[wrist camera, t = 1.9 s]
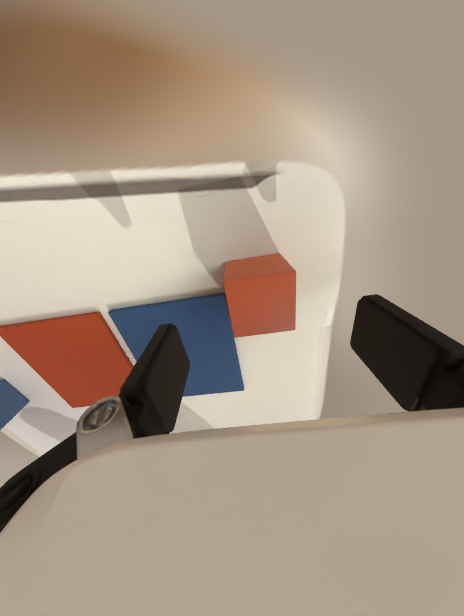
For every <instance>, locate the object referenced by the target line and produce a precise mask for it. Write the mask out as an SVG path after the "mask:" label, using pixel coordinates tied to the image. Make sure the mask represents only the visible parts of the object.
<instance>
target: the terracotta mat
mask: <svg viewBox="0 0 464 616" xmlns="http://www.w3.org/2000/svg"><path fill="white" fill-rule="evenodd" d="M0 336H1V337H2V338H3V339H4V340H5V341H6V342H7V343H8V344H9V345H10V346H11V347H12V348H13V349H14V350H15V351H16V352H17V353H18V354H19V355H20V356H21V357H22V358H23V359H24V360H25V361H26V362H27V363H28V364H29V365H30V366H31V367H32V368H33V369H34V370H35V371H36V372H37V373H38V374H39V375H40V376H41V377H42V378H43V379H44V380H45V381H46V382H47V383H48V384H49V385H50V386H51V387H52V388H53V389H54V390H55V391H56V392H57V393H58V394H59V395H60V396H61V397H62V398H63V399H64V400H65V401H66V402H67V403H68V404H69V405H70V406H71V407H72V408H75V407H85V406H91V405H93V404H94V403H96V402H97V401H99V400H101V399H103V398H105V397H108V396H118V395H119V393H120V388H121V386H122V385H123V383H124V382H125V380H126V378H127V377H128V375H129V374H130V372H131V370H132V369H133V366H132V364H131V362H130V361H129V359H128V357H127V356H126V354H125V353H124V351H123V349H122V348H121V346H120V344H119V343H118V341H117V340H116V338H115V336H114V335H113V333H112V331H111V330H110V328H109V327H108V325H107V323H106V322H105V320H104V318H103V317H102V315H101V313H100V312H93V313H86V314H80V315H73V316H66V317H59V318H52V319H46V320H39V321H32V322H25V323H18V324H12V325H5V326H0Z"/></svg>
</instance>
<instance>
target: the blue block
mask: <svg viewBox="0 0 464 616" xmlns="http://www.w3.org/2000/svg"><path fill="white" fill-rule="evenodd" d="M28 402H29V400H27V399H26V398H25V397H24V396H23V395H22V394H20V393H19V392H18V391H17V390H16V389H15V388H13V387H12V386H11V385H10V384H9V383H8V382H6V381H5V380H0V430H1V429H2V428H3V427H4V426H5V425H6V424H7V423H8V422H9V421H10V420H11V419H12V418H13V417H14V416H15V415H16V414H17V413H18V412H19V411H20V410H21V409H22V408H23V407H24V406H25V405H26V404H27V403H28Z"/></svg>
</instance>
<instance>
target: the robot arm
mask: <svg viewBox="0 0 464 616" xmlns="http://www.w3.org/2000/svg"><path fill="white" fill-rule="evenodd" d="M350 344H351V347H352V349H353V350H354V351H355V353H356V354H357V355H358V356H359V357H360V359H361V360H362V361H363V362H364V363H365V365H366V366H367V367H368V368H369V369H370V370H371V372H372V373H373V374H374V375H375V376H376V378H377V379H378V380H379V381H380V382H381V383H382V384H383V386H384V387H385V388H386V389H387V391H388V392H389V393H390V394H391V395H392V396H393V398H394V399H395V400H396V401H397V402H398V403H399V405H400V406H401V407H402V408H403V409H405V410H407V411H409V412H400V413H389V414H377V415H365V416H352V417H342V418H330V419H318V420H307V421H296V422H285V423H274V424H263V425H252V426H242V427H231V428H221V429H210V430H200V431H190V432H181V433H172V434H169V433H170V432H172V431H173V429H174V426H175V423H176V419H177V415H178V411H179V408H180V404H181V400H182V396H183V393H184V389H185V385H186V381H187V377H188V374H189V370H190V361H189V358H188V356H187V353H186V350H185V348H184V345H183V342H182V340H181V337H180V334H179V332H178V329H177V327H176V325H173V324H172V323H167V324H161V325H159V327H158V328H157V330H156V332H155V333H154V335H153V336H152V338H151V340H150V341H149V343H148V345H147V346H146V348H145V349H144V351H143V353H142V354H141V356H140V357H139V359H138V361H137V362H136V364H135V365H134V367H133V369H132V370H131V372H130V374H129V375H128V377H127V378H126V380H125V382H124V383H123V385H122V386H121V388H120V393H119V395H118V396H108V397H105V398H103V399H101V400H99V401H97V402H96V403H94V404H93V405H91V406H90V407H89V408H88V409H87V410H86V411H85V412H84V413H83V415H82V416H81V417H80V419H79V421H78V423H77V428H76V432H75V433H74V434H72V435H71V436H70V437H68V438H67V439H65V440H64V441H62V442H61V443H60V444H58V445H57V446H55V447H54V448H52V449H51V450H49V451H48V452H47V453H45V454H44V455H42V456H41V457H39V458H38V459H37V460H35V461H34V462H32V463H31V464H29V465H28V466H26V467H25V468H24V469H22V470H21V471H19V472H18V473H17V474H15V476H13V477H12V478H10V479H9V480H8V481H7V482H6V483H5V484H4V485H3V486H2V487H1V488H0V616H464V346H463V345H462V344H460V343H458V342H457V341H455V340H453V339H452V338H450V337H448V336H447V335H445V334H443V333H442V332H440V331H438V330H436V329H435V328H433V327H432V326H430V325H428V324H427V323H425V322H423V321H422V320H420V319H418V318H417V317H415V316H413V315H412V314H410V313H408V312H406V311H405V310H403V309H401V308H400V307H398V306H396V305H395V304H393V303H391V302H390V301H388V300H386V299H385V298H383V297H381V296H380V295H377V294H375V295H368V296H363V297H362V298H361V299H360V300H359V301H358V304H357V309H356V315H355V320H354V325H353V330H352V336H351V341H350Z"/></svg>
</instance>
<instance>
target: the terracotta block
mask: <svg viewBox="0 0 464 616" xmlns="http://www.w3.org/2000/svg"><path fill="white" fill-rule="evenodd" d="M223 285H224V290H225V294H226V299H227V304H228V309H229V314H230V319H231V324H232V329H233V334H234V337H243V336H251V335H259V334H267V333H275V332H283V331H291V330H295V310H296V271H295V270H294V269H293V267H292V266H291V265H290V264H289V263H288V262H287V261H286V260H285V259H284V258H283V257H282V255H281V254H280V253H278V254H272V255H265V256H259V257H253V258H247V259H241V260H234V261H228V262H226V263H225V271H224V279H223Z"/></svg>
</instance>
